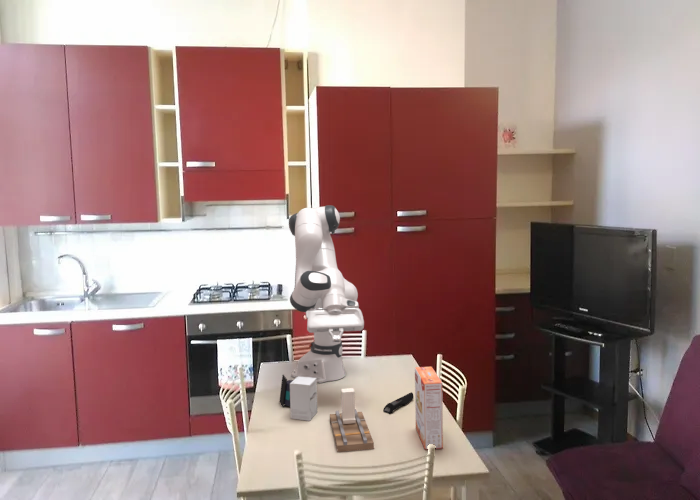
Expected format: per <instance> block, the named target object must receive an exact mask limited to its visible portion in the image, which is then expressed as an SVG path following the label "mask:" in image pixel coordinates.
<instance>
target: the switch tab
mask: <svg viewBox="0 0 700 500" xmlns="http://www.w3.org/2000/svg"><path fill="white" fill-rule="evenodd" d="M340 394H341V395H340V396H341V397H340V399H341V403H340V404H341V413H342V414H341V418H342V421H343V424H351V423H356V419H355V409H356V399H355V397H356V396H355V395H356V393H355V389H354V387H349V388H348V387H347V388H340Z"/></svg>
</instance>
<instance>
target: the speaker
mask: <svg viewBox="0 0 700 500" xmlns="http://www.w3.org/2000/svg"><path fill="white" fill-rule="evenodd" d="M293 380H294V379H289V380H288V379H287V378H286V376H285V374H282V377H281V387H280V395H279V401H278V402H279V404H280V405H281V407H282V408H285V406H287V407H290V383H291V382H292V381H293Z"/></svg>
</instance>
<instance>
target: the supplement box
mask: <svg viewBox="0 0 700 500" xmlns="http://www.w3.org/2000/svg"><path fill="white" fill-rule="evenodd" d="M292 380H293V381H292V382H291V383H290V406H289V407H290V419H293V420H298V421H299V420H301V421H308V422H310V421H311V420H312V418H314V416H316V414H317V413H318V390H317V389H318V385H317V384H318V383H317V378H312V377H299V376H298V377H297V378H296V377H295V378H294V379H292Z"/></svg>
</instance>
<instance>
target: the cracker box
mask: <svg viewBox="0 0 700 500" xmlns="http://www.w3.org/2000/svg"><path fill="white" fill-rule="evenodd" d="M414 387H415V389H414V391H415V392H414V393H415V394H414V395H415V398H414V399H415V402H414V403H415V404H414V405H415V406H414V407H415V429H416V431H417V435H418V437H419V439H420V441H421V444H422V447H423V449H424V450H428V449H427V446H428V445H429V444H433V445H435V446H436V449H435V450H437V449H439V450H440V449H441V450H442V449H443V447H444V441H443V440H444V439H443V437H444V434H443V433H444V431H443V430H444V428H443V427H444V426H443V423H444V422H443V417H444V415H443V412H444V411H443V400H444V399H443V391H444V389H443V382H442V380H441V379H440V377H439V375H438V374H437V372H436V371H435V370H434V368H433V366H416V367H414Z"/></svg>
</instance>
